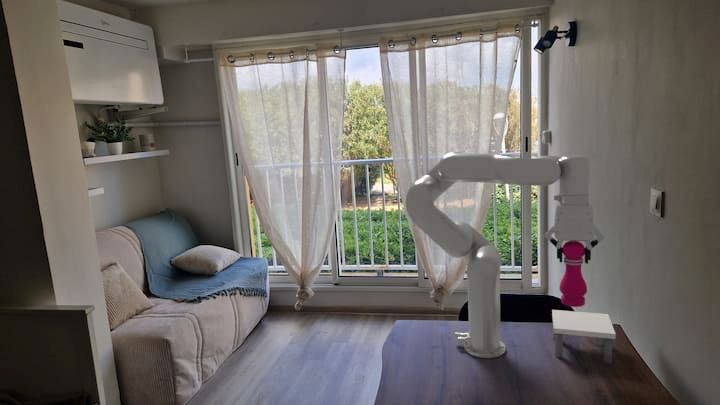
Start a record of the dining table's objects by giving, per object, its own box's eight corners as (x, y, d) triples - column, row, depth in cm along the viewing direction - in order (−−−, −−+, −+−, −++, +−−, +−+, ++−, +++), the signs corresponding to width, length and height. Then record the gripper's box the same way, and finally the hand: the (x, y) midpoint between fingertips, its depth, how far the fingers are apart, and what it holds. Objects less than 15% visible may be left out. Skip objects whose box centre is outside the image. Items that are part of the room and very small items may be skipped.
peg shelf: (553, 358, 136) (554, 328, 135) (551, 337, 149) (552, 309, 148) (614, 365, 131) (615, 334, 129) (607, 342, 144) (608, 314, 142)
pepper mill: (589, 308, 129) (590, 239, 126) (561, 307, 131) (562, 239, 127) (583, 298, 136) (584, 232, 133) (557, 298, 138) (557, 233, 134)
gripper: (540, 202, 128) (540, 264, 131) (610, 202, 122) (609, 267, 125) (541, 197, 135) (541, 256, 138) (607, 197, 129) (606, 259, 131)
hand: (573, 261), depth 131 cm, fingers closed on pepper mill, 6 cm apart
